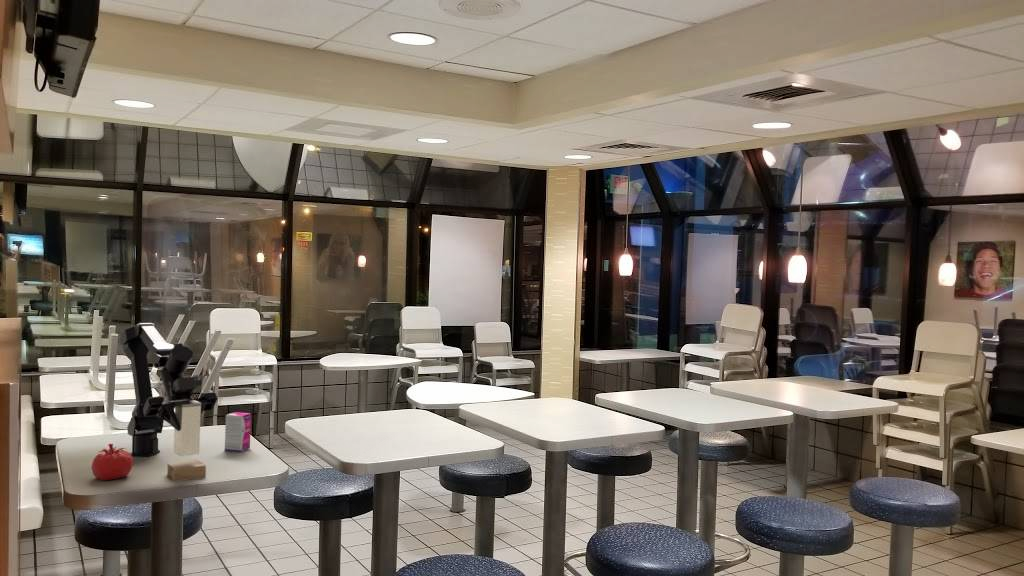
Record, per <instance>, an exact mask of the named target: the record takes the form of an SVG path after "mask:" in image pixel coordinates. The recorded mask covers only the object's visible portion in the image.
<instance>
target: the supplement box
mask: <svg viewBox="0 0 1024 576" xmlns="http://www.w3.org/2000/svg"><path fill="white" fill-rule="evenodd" d="M251 426H252V413H251V412H250V413H249V412H237V411H235V412H231V413H228V414H226V415H225V428H224V430H225V431H224V433H225V434H224V435H225V436H224V452H232V451H235V452H234V453H242V452H243V450H244V451H246V450H249V449H250V448H251ZM248 448H249V449H248Z"/></svg>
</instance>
